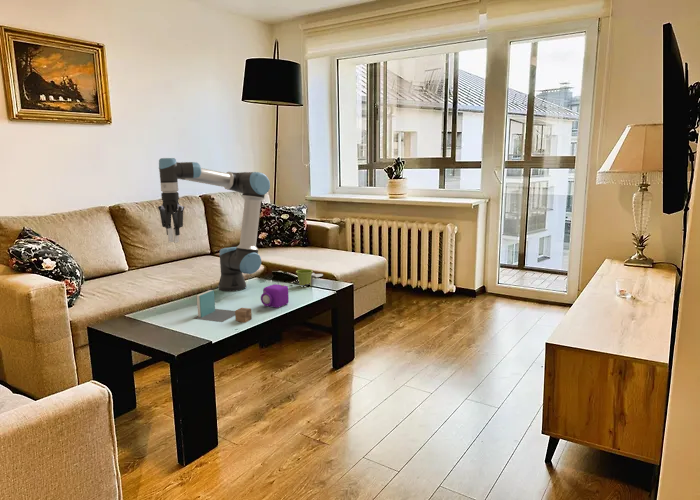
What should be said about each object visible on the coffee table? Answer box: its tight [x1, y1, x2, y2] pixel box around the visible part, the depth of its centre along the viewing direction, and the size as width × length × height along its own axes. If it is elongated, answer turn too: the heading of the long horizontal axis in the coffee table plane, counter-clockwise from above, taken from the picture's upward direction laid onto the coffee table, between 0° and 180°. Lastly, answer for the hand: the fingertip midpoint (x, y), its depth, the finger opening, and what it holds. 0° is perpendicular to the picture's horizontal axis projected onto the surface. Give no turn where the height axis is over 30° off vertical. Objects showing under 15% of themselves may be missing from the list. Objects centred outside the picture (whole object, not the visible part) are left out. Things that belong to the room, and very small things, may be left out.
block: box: [234, 307, 253, 324], centre depth 217 cm, size 5×5×5 cm
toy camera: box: [260, 283, 290, 309], centre depth 238 cm, size 11×14×10 cm
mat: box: [191, 308, 236, 323], centre depth 224 cm, size 16×16×1 cm
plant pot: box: [295, 268, 314, 285], centre depth 276 cm, size 9×9×9 cm
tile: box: [196, 289, 216, 317], centre depth 225 cm, size 10×2×10 cm, turn 159°
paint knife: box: [290, 272, 324, 283], centre depth 291 cm, size 30×14×2 cm, turn 158°
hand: (173, 242), depth 231 cm, fingers open, 3 cm apart
